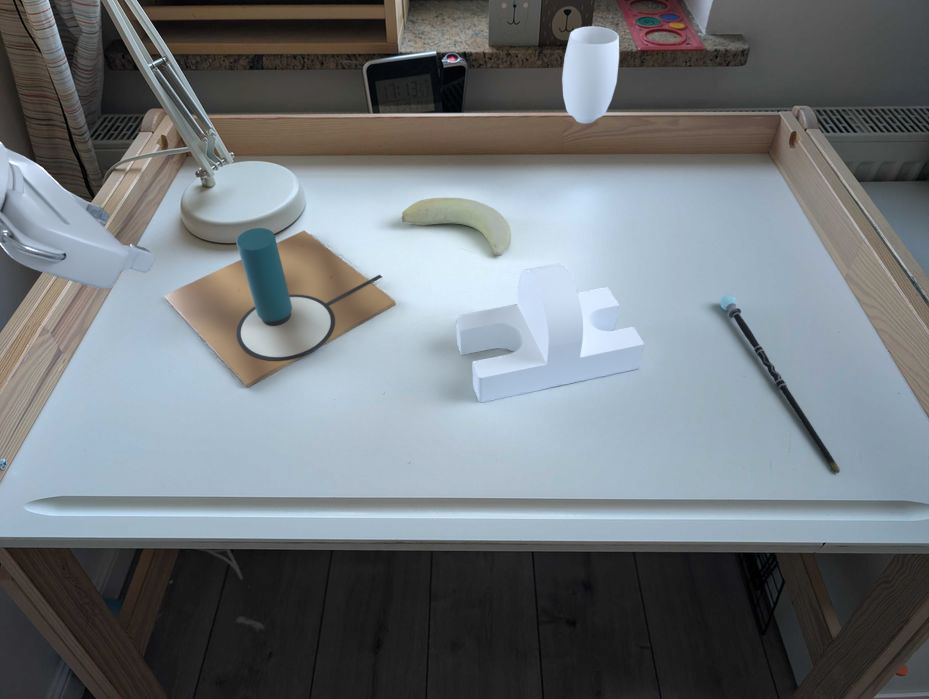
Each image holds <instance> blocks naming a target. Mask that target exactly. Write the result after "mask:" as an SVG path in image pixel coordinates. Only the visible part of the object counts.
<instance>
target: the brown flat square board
mask: <svg viewBox="0 0 929 699" xmlns="http://www.w3.org/2000/svg"><path fill="white" fill-rule="evenodd" d="M276 243H277V247H278V251H279V255H280V259H281V263H282V267H283V272H284V276H285V280H286V284H287V288H288V292H289V296H290V300H291V304H292V310H291V317H290V319H289V320H288V321H287V322H286V323H284V324H282V325H278V326H269V325H266V324H265V323H263V321H262V319H261V318H259V316H258V315H257V311H256V308H255V305H254V301H253V298H252V294H251V291H250V287H249V284H248V281H247V277H246V274H245V270H244V267H243V264H242V260H241V259H239V260H237V261H235V262H233V263H231V264H229V265H226V266H224V267H222V268H219V269H218V270H216V271H214V272H212V273H209V274H207V275H205V276H203V277H200V278H199V279H196V280H194V281H192V282H190V283H188V284H186V285H184V286H181V287H179V288H177V289H175V290H173V291H170V292H168V293H166V294H164V295H163V296H164V297H163V298H164V299H165V300H166V302H167V303H168V304H169V305H170V306H171V307H172V308H173V309H174V311H176V312H177V313H178V314H179V315H180V316H181V318H182V319H183V320H184V321H185V322H186V323H187V324H188V325H189V326H190V328H191V329H192V330H193V331H194V332H195V333H196V334H197V335H198V336H199V337H200V338H201V340H202V341H203V342H204V343H205V344H206V345H207V347H209V348H210V349H211V350H212V351H213V352H214V354H215V355H216V356H217V357H218V358H219V359H220V360H221V362H222V363H224V364H225V366H227V368H228V369H229V370H230V371H231V372H232V373H233V375H235V377H236V378H237V379H238V380H239V381H240V382H241V383H242V384H243V385H244V386H245V387H246V388H247V389H249V388H251V387H252V386H254V385H255V384H257V383H259V382H261V381H263V380H264V379H267V378H268V377H270V376H272V375H274V374H275V373H277V372H278V371H280V370H282V369H284V368H286V367H288V366H289V365H291V364H293V363H295V362H297V361H298V360H300V359H302V358H304V357H305V356H307V355H309V354H311V353H313V352H315V351H316V350H318V349H319V348H322V347H323V346H325V345H327V344H328V343H330V342H332V341H334V340H336V339H337V338H339V337H341V336H343V335H344V334H346V333H348V332H350V331H352V330H353V329H356V327H359V326H361V325H363V324H364V323H366V322H367V321H369V320H372V319H374V318H375V317H376V316H378V315H380V314H382V313H384V312H386V311H388V310H389V309H392V308H393V307H394V306H396V300H395V299H393V298H392V297H391V296H389V295H388V294H386V292H384V291H383V290H382V289H381V288H379V287H378V286H376V284H374V282H376V281H377V280H380V279H381V278H383V275H380V274H378V275H376V276H374V277H372V278H371V279H367V278H366V277H365V276H364V275H363V274H361V273H359V272H358V271H357V270H356V269H355V268H353V267H352V266H351V265H349V263H347V262H346V261H345V260H343V259H342V258H341V257H340V256H338V255H337V254H336V253H334V252H333V251H332V250H330V249H329V248H327V247H326V246H325V245H324V244H322V243H321V242H320V241H319V240H317V239H316V238H315V237H314V236H312V235H311V234H310V233H308V232H307V231H306V230H302V231H299V232H297V233H295V234H294V235H290V236H288V237H287V238H284V239H282V240H280V241H278V242H276Z"/></svg>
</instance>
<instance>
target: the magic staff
mask: <svg viewBox="0 0 929 699" xmlns="http://www.w3.org/2000/svg"><path fill="white" fill-rule="evenodd" d="M719 304H720V308H721V309H722V310H724V311H726V312H728V317H729V318H730V319H734V320H735V322H736V325H737V326H738V327H739V329H740V331H741V332H742V334H743V336H745V338H746V339H747V341H748V342H749V344H750V345H751V347H752V348H753V351H754V352H755V354H756V356H758V357H759V359H760V360H761V362H762V364H763V366H765V368H767V371H768V373H769V375H770V376H771V377H772V379H773V380H774V383H775V385H776V387H777V388H778V389H779V390H780V391H781V392H782V394H783V395H784V397H785V399H786V400H787V402H788V403H789V405H790V406H791V408H792V409H793V411H794V412H795V414H796V415H797V417H798V418H799V420H800V421H801V423H802V424H803V426H804V427H805V429H806V431H807V432H808V434H809V435H810V436H811V438H812V440H813V441H814V443H815V444H816V445H817V447H818V449H819V450H820V452H821V454H822V455H823V456H824V459H826V461H827V463H828V464H829V465H830V467H831V469H832V470H833V471H834V472H835V473H837V474H840V467H839V466H838V464H837V463H836V461H835V460H834V458H833V456H832V455H831V453H830V452H829V450H828V449H827V447H826V445H825V444H824V443H823V441H822V439H821V438H820V436H819V435H818V433H817V431H816V430H815V428H814V427H813V425H812V424H811V422H810V420H809V419H808V418H807V416H806V415H805V413H804V412H803V409H802V408H801V407H800V405H799V404H798V402H797V401H796V399H795V397H794V396H793V394H792V392H791V391H790V389H789V388H788V385H787V383H786V381H785V380H784V379H783V378H782V375H781V374H780V373H779V372H777V370H776V369H775V368H776V367H775V365H773V363H772V362H771V361H770V359H769V357H768V356H767V354H766V351H765V350H764V348H763V346H761V345H760V344H759V342H758V340H757V339H756V337H755V335H754V333H753V332H752V330H751V329H750V328H749V326H748V324H747V323H746V321H745V320H744V319H743V317H742V316H741V313H742V309H741V308H739V307H737V299H736V298H735V297H733V296H732V295H729V294H728V295H724V296H723V297H721V299H720V302H719Z"/></svg>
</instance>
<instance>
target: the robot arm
mask: <svg viewBox="0 0 929 699" xmlns="http://www.w3.org/2000/svg"><path fill="white" fill-rule="evenodd" d="M109 214H110V213H108V212H107V210H105V208H104V207H102V206H101V205H98V204H95V203H92V202H89V201H87V200H85V199H83V198H82V197H80V196H78V195H77V194H74V193H72V192H70V191H68V190H67V189H65V188H64V187H63V186H62V185H61V184H60V183H59V182H58V181H57V180H55V178H53V177H52V175H51V174H49V173H48V171H46V170H45V169H44V168H43V166H40V165H39V164H38V163H36V162H34V161H33V160H31V159H29V158H27V157H26V156H24V155H22V154H20V153H17V152H15V151H13V150H10V149H8V148H6V147H5V145H4V144H3V143H2V142H1V141H0V246H1V247H2V248H3V250H4V251H5V252H6V254H7V255H8V256H9V257H11V259H13V260H14V261H16V262H17V263H19V264H21V265H23V266H25V267H28V268H30V269H33V270H35V271H38V272H41V273H43V274H46V275H50V276H54V277H57V278H60V279H63V280H66V281H70V282H73V283H77V284H80V285H84V286H87V287H91V288H94V289H99V290H106V289H111V288H113V287H115V285H116V284H117V282H118V281H119V279H120V277H121V275H122V273H123V271H126V270H127V271H128V270H133V271H136V272H140V273H148V272H150V271H151V270H152V267H153V265H154V263H155V262H156V257H155V255H154V254H153V253H152V252H151V251H150V250H149V249H147V247H143V246H140V245H137V244H133V243H131V244H130V245H125V244H122V243H121V242H120V240H118V239H117V237H115V236H114V235H113V234H112V233H111V232H110V231H109V230H108V229H106V228H105V227H106V224H107V221H108V220H109V218H110V215H109Z"/></svg>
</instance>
